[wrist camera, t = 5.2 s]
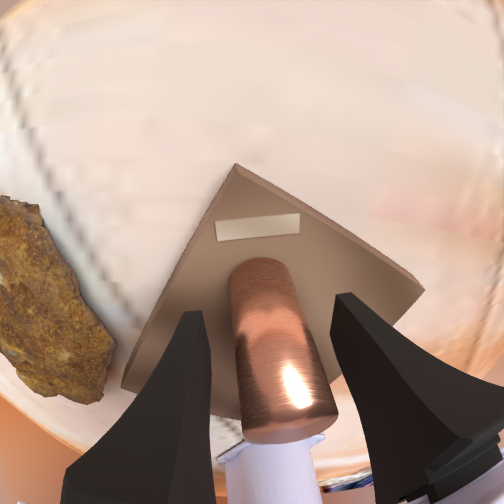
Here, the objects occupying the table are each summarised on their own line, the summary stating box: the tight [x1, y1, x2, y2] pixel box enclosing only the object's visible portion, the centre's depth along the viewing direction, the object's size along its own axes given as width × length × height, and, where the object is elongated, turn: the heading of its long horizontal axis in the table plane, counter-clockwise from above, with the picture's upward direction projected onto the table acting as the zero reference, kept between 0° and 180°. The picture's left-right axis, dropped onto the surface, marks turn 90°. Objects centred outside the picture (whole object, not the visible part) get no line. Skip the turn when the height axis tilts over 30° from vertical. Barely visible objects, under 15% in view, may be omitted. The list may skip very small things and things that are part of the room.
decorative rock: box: [0, 195, 117, 405], centre depth 13 cm, size 11×4×15 cm
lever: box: [230, 257, 338, 445], centre depth 13 cm, size 14×4×6 cm, turn 3°
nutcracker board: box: [121, 163, 425, 420], centre depth 16 cm, size 15×12×2 cm
